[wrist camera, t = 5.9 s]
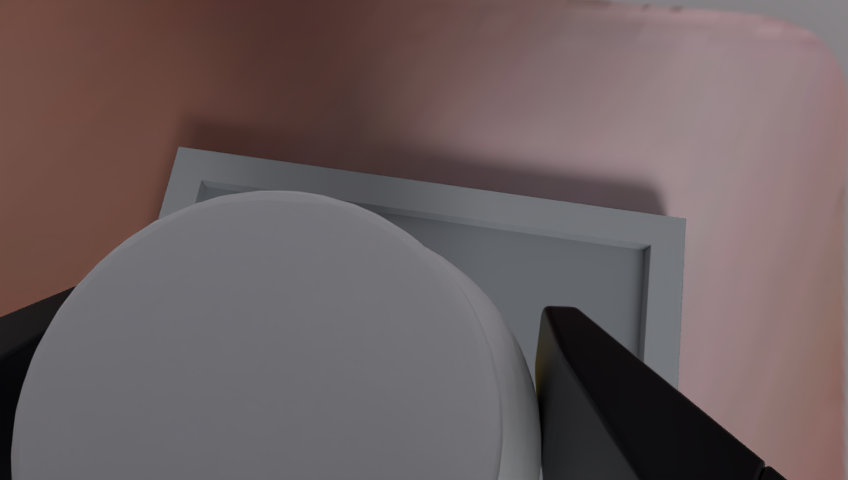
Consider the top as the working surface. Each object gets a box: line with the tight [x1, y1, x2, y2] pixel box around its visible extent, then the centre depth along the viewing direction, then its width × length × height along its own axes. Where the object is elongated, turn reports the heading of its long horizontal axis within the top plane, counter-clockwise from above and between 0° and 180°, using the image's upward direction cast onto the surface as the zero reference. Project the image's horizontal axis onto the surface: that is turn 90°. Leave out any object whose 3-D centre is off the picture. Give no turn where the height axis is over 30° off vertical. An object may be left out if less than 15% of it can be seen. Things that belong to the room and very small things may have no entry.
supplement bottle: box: [11, 191, 542, 480], centre depth 10 cm, size 5×5×10 cm
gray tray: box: [158, 147, 686, 480], centre depth 20 cm, size 16×16×1 cm
